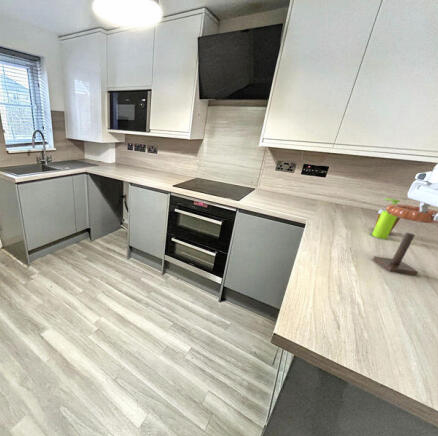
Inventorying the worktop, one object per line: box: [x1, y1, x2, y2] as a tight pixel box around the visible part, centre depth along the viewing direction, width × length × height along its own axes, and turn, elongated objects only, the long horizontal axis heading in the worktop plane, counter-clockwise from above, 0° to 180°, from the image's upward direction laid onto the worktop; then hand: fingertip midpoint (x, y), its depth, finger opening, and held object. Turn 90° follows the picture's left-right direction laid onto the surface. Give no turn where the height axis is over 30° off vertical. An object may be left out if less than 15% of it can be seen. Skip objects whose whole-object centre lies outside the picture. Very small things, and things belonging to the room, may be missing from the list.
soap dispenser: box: [371, 198, 401, 240], centre depth 119 cm, size 6×7×20 cm
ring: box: [385, 203, 438, 225], centre depth 88 cm, size 15×15×4 cm
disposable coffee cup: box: [374, 208, 401, 235], centre depth 127 cm, size 10×10×12 cm
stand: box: [372, 232, 419, 276], centre depth 91 cm, size 9×9×14 cm
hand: (428, 218), depth 83 cm, fingers closed on ring, 3 cm apart
